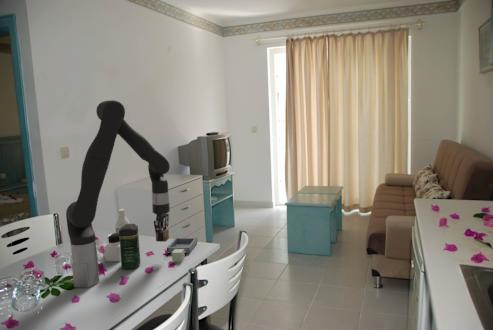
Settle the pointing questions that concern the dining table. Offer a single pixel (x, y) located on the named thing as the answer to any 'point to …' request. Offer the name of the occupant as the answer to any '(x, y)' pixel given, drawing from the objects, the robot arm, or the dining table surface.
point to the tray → (182, 244)
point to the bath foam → (121, 220)
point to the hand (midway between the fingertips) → (162, 238)
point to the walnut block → (164, 235)
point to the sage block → (178, 255)
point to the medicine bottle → (113, 248)
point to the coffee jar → (129, 246)
